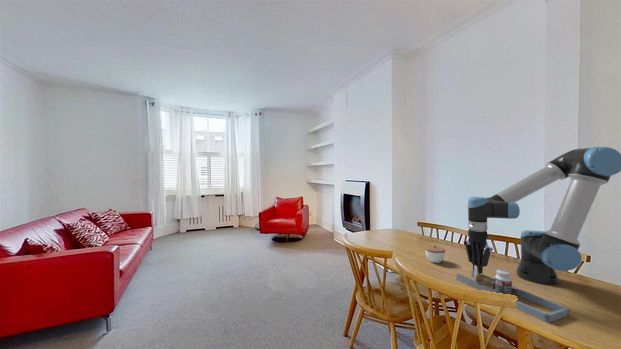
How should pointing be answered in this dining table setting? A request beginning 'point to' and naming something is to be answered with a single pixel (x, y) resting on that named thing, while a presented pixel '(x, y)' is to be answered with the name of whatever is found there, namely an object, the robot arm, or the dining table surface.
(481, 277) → the walnut chip
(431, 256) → the lidded jar
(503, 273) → the pill bottle
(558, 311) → the corral tray
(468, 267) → the dining table surface
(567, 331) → the dining table surface
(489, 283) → the walnut chip
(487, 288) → the slot rails
